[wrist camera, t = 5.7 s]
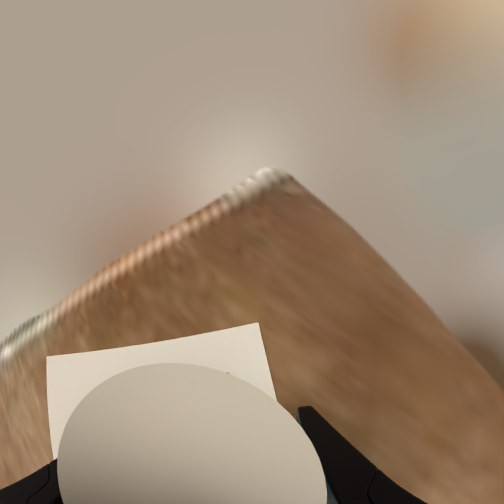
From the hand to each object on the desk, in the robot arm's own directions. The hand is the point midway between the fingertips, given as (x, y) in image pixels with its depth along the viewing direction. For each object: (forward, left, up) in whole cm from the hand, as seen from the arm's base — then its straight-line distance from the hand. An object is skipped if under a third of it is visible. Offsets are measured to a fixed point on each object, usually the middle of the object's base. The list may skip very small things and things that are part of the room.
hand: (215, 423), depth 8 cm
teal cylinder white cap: (-1, -1, -7) cm, 7 cm away
